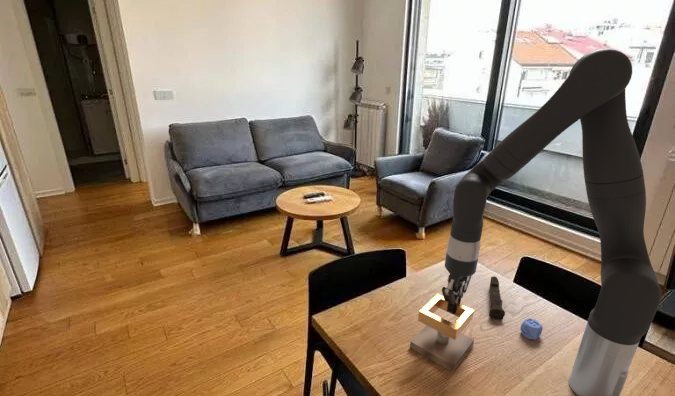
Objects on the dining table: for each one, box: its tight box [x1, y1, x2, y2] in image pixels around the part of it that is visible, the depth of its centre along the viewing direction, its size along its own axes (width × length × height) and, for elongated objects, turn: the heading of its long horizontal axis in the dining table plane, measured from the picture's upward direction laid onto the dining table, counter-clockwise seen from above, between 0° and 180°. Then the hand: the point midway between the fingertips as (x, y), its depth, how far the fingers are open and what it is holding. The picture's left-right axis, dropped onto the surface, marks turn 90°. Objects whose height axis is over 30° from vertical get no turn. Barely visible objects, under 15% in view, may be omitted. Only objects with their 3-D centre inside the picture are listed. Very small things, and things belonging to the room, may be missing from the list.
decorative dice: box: [520, 318, 543, 341], centre depth 101 cm, size 4×4×4 cm
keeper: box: [409, 325, 475, 373], centre depth 96 cm, size 12×12×7 cm
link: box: [417, 293, 475, 340], centre depth 93 cm, size 10×10×3 cm
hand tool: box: [488, 276, 506, 321], centre depth 115 cm, size 19×4×5 cm, turn 159°
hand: (453, 310), depth 97 cm, fingers closed on link, 1 cm apart
